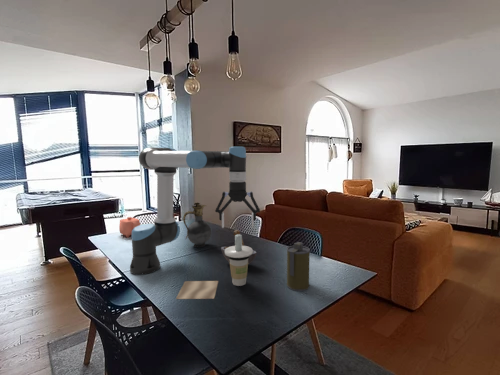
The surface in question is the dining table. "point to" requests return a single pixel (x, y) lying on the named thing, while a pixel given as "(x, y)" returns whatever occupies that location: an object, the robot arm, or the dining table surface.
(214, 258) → the dining table surface
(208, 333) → the dining table surface
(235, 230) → the planter
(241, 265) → the coffee cup
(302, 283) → the canister
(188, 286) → the mat
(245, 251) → the lid
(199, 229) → the pitcher
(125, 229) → the teapot
